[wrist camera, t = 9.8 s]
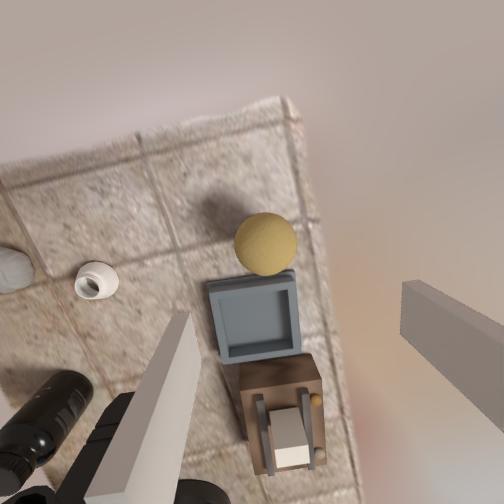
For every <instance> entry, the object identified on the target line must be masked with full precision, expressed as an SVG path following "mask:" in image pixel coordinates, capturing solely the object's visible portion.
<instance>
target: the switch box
mask: <svg viewBox="0 0 504 504" xmlns="http://www.w3.org/2000/svg"><path fill="white" fill-rule="evenodd" d="M240 395H241V401H242V406H243V412H244V418H245V423H246V429H247V434H248V440H249V446H250V451H251V457H252V462H253V468H254V474H255V475H260V474H267V473H268V476H274V475H275V473H274V472H280V471H287V470H293V469H300V468H306V467H308V470H313V469H315V466H320V465H326V464H327V460H326V443H325V426H324V409H323V393H322V379H321V376H320V374H319V372H318V369H317V367H316V364H315V362H314V360H313V357H312V355H311V354H307V355H300V356H293V357H286V358H280V359H273V360H266V361H259V362H252V363H245V364H240ZM296 407H298V408H299V411H300V415H301V419H302V423H303V426H304V430H305V434H306V438H307V442H308V446H309V458H310V463H307V464H301V465H294V466H288V467H281V468H277V464H276V457H275V450H274V443H273V435H272V428H271V420H270V413H269V411H276V410H282V409H289V408H296Z"/></svg>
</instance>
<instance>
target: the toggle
mask: <svg viewBox="0 0 504 504" xmlns="http://www.w3.org/2000/svg"><path fill="white" fill-rule="evenodd" d="M269 413H270V420H271V428H272V435H273V443H274V450H275V457H276V464H277V468H281V467H288V466H294V465H301V464H307V463H310V458H309V446H308V442H307V438H306V434H305V430H304V426H303V423H302V419H301V415H300V411H299V408H298V407H296V408H289V409H282V410H276V411H269Z"/></svg>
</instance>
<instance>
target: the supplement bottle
mask: <svg viewBox="0 0 504 504" xmlns="http://www.w3.org/2000/svg"><path fill="white" fill-rule="evenodd" d="M92 398H93V387H92V385H91V383H90V382H89V380H88V379H87V378H85V377H84V376H82V375H80V374H78V373H74V372H61V373H58V374H56V375H54V376H52V377H51V378H50V379H49V380H48V381H47V382H46V383H45V384H44V385H43V386H42V387H41V388H40V389H39V390H38V391H37V392H36V393H35V394H34V395H33V396H32V397H31V398H30V399H29V400H28V401H27V402H26V403H25V404H24V405H23V406H22V407H21V409H20V410H19V411H18V412H17V413H16V414H15V415H14V416H13V417H12V418H11V419H10V420H9V421H8V422H7V423H6V424H5V425H4V426H3V427H2V429H1V430H0V497H2V496H10V495H12V494H14V493H16V492H17V491H19V490H20V489H21V487H22V486H23V485H24V483H25V482H26V480H27V479H28V478H29V477H30V476H31V475H32V473H33V472H34V470H35V469H36V468H38V467H41V466H43V465H44V464H46V463H47V462H48V461H50V460H51V459H52V458H53V456H54V455H55V454H56V452H57V451H58V449H59V448H60V446H61V445H62V444H63V442H64V441H65V439H66V438H67V436H68V435H69V433H70V432H71V430H72V429H73V427H74V426H75V424H76V423H77V421H78V420H79V418H80V417H81V415H82V414H83V412H84V411H85V409H86V408H87V406H88V405H89V403H90V402H91V400H92Z"/></svg>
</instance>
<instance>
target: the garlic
mask: <svg viewBox="0 0 504 504" xmlns="http://www.w3.org/2000/svg"><path fill="white" fill-rule="evenodd" d="M34 276H35V275H34V268H33V266H32V264H31V261H30V259H29V257H28V256H27V255H25V254H24V253H22V252H18V251H15V250H12V249H9V248H4V247H1V246H0V293H11V292H14V291H16V290H17V289H22V288H25V287H27V286H29V285H30V284H31V283H32V282H33V280H34Z"/></svg>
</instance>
